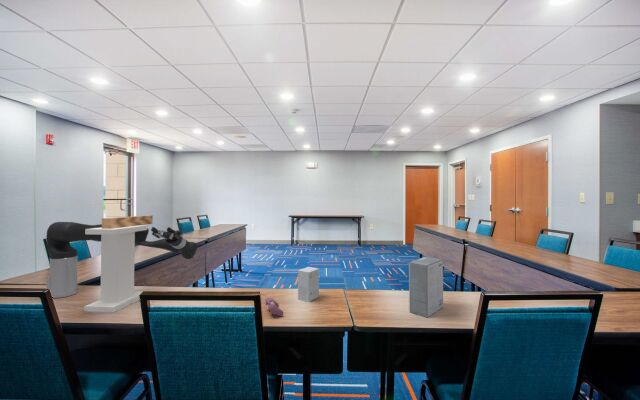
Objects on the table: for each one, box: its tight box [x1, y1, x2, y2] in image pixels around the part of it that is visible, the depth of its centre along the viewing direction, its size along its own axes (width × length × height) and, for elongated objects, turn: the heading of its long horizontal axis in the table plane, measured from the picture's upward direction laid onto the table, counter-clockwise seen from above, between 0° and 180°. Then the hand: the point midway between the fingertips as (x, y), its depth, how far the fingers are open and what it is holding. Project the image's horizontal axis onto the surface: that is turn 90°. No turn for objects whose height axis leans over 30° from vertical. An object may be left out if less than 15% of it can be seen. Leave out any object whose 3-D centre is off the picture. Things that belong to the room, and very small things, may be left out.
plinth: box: [83, 224, 148, 313], centre depth 113 cm, size 18×12×32 cm, turn 176°
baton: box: [101, 215, 154, 229], centre depth 120 cm, size 24×4×4 cm, turn 176°
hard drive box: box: [408, 256, 444, 318], centre depth 109 cm, size 16×8×20 cm, turn 134°
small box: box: [297, 266, 320, 303], centre depth 121 cm, size 8×6×13 cm
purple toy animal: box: [264, 296, 284, 317], centre depth 105 cm, size 10×5×7 cm, turn 21°
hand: (160, 228), depth 140 cm, fingers open, 8 cm apart
